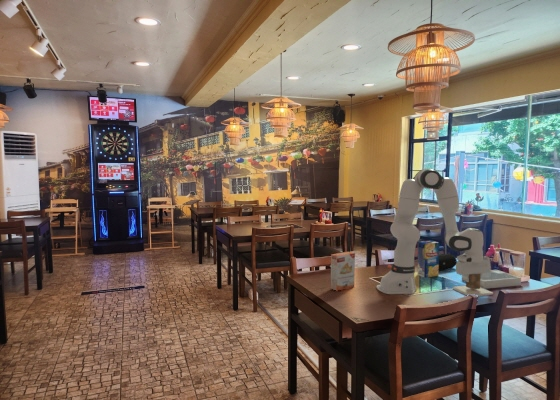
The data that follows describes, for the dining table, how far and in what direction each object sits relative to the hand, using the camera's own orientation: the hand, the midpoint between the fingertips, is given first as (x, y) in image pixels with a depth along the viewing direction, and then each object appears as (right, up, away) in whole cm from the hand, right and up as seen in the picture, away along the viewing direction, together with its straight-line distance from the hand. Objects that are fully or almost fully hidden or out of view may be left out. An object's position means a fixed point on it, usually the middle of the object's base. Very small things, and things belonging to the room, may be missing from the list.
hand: (473, 281), depth 201 cm
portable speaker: (+1, -3, +47) cm, 47 cm away
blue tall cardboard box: (-11, -4, +34) cm, 36 cm away
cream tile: (0, -6, 0) cm, 6 cm away
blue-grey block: (+24, -4, +17) cm, 30 cm away
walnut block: (0, -4, 0) cm, 4 cm away
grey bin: (+19, -5, +16) cm, 25 cm away
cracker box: (-72, -7, +9) cm, 72 cm away
